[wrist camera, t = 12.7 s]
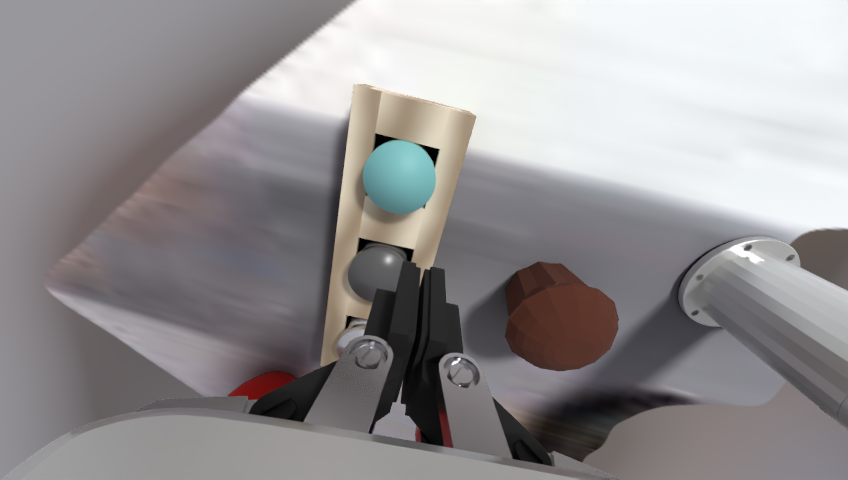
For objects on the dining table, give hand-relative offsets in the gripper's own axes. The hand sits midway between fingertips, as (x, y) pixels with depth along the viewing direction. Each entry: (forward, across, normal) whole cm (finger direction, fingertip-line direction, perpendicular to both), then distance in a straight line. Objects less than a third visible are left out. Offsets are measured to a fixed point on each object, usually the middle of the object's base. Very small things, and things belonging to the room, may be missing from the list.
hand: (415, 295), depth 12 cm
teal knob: (+22, +2, 0) cm, 22 cm away
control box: (+22, +2, +10) cm, 24 cm away
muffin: (+23, -18, +12) cm, 31 cm away
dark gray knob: (+22, +2, +10) cm, 24 cm away
